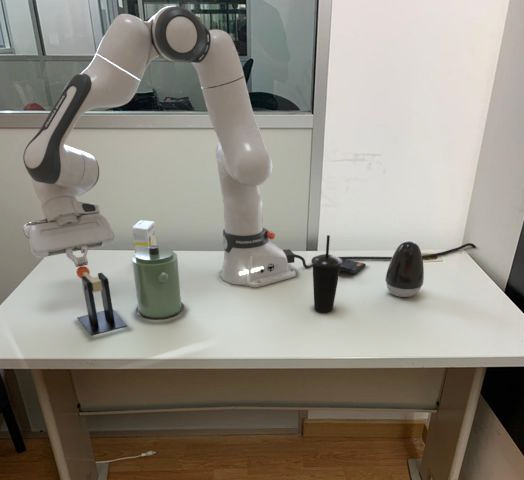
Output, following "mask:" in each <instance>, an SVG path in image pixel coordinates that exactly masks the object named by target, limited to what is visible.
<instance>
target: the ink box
mask: <svg viewBox="0 0 524 480" xmlns="http://www.w3.org/2000/svg"><path fill="white" fill-rule="evenodd" d="M155 225H156V224H155V221H154V220H143V219H142V220H141V219H140V220H139V221H137V222H136V223H135V224H134V225H133V226H132V227H131V230H132V239H133V240H132V241H133V248H134V254H135V253H136V252H137V251H139V250H141V249H144V248H149V246H152V245H157V235H156V226H155Z"/></svg>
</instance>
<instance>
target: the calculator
mask: <svg viewBox="0 0 524 480" xmlns="http://www.w3.org/2000/svg"><path fill="white" fill-rule="evenodd" d="M340 259H341V258H340ZM341 260H342V264H341V266H340V271H339V272H343V273H349V274H353V275H357V274H358V273H359V272H361V270H363V269H364V268H365V267H366V263H363V262H359V261H355V260H352V259H341Z"/></svg>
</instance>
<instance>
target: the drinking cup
mask: <svg viewBox="0 0 524 480" xmlns="http://www.w3.org/2000/svg"><path fill="white" fill-rule="evenodd" d="M330 238H331V235H330V234H329V235H326V245H325V253H323V254H319V255H315V256H313V257H312V258H311V260H310V261H311V265H312V264H313V266H312V280H313V281H312V282H313V283H312V286H313V307H314V308H313V309H314V311H315V312H317V313H319V314H329V313H332V312H333V311H334V305H335V300H336V299H335V298H336V293H337V287H338V282H339V276H340V272H341V271H340V266H341V264H342V260H341V259H340V258H339V257H340V256H336V255H335V254H334V255H333V254H330V253H329V252H330Z"/></svg>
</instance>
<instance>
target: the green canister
mask: <svg viewBox="0 0 524 480" xmlns="http://www.w3.org/2000/svg"><path fill="white" fill-rule="evenodd" d="M178 260H179V259H178V254H177V252H174V251H173V250H172V249H171V248H170V247H164V246H158V244H156V245H152V246H149V248H144V249H141V250H139V251H137V252H136V253H135V252H134V254H133V256H132V257H131V262H132V271H133V280H134V287H135V293H136V302H137V306H136V309H135V314H136V315H137V316H138V317H140V318H142V319H145V320H151V321H163V320H168V319H172V318H175V317H177V316H179V315H181V314H182V313H183V312H184V311H185V305H184V303H183V302H182V298H181V297H182V296H181V284H180V283H181V282H180V272H179V262H178Z"/></svg>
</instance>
